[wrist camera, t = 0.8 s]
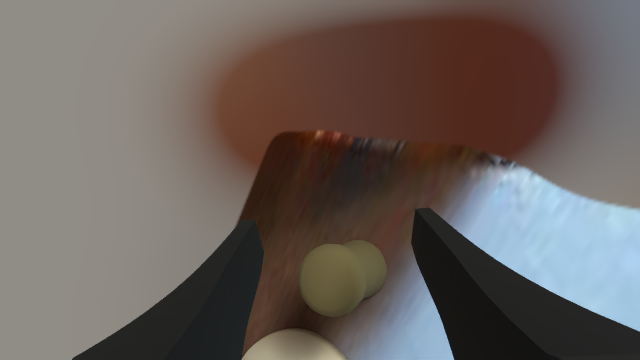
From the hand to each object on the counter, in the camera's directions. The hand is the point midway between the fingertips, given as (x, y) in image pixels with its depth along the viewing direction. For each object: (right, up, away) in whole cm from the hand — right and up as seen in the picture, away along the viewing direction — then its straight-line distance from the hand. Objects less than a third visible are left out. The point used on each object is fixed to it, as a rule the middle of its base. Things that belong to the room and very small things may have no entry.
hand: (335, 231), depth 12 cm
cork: (+3, -7, +17) cm, 19 cm away
